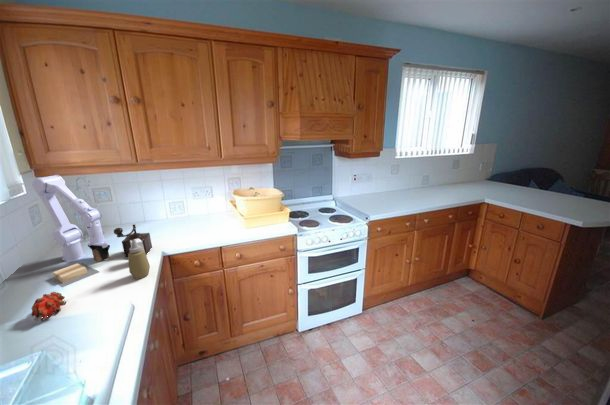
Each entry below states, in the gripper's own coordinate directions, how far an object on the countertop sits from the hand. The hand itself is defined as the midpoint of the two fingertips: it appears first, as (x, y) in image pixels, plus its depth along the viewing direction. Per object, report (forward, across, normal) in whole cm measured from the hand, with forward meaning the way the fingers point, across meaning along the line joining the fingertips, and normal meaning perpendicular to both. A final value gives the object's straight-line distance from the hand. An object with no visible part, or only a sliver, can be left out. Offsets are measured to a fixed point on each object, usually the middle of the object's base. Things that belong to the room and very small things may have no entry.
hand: (101, 257), depth 135 cm
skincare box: (+2, +21, +8) cm, 23 cm away
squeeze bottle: (+2, +34, +1) cm, 34 cm away
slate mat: (+1, +5, -14) cm, 15 cm away
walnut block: (+2, 0, 0) cm, 2 cm away
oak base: (+1, +6, -15) cm, 16 cm away
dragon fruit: (+2, +31, -30) cm, 43 cm away
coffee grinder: (+2, +10, +12) cm, 16 cm away
